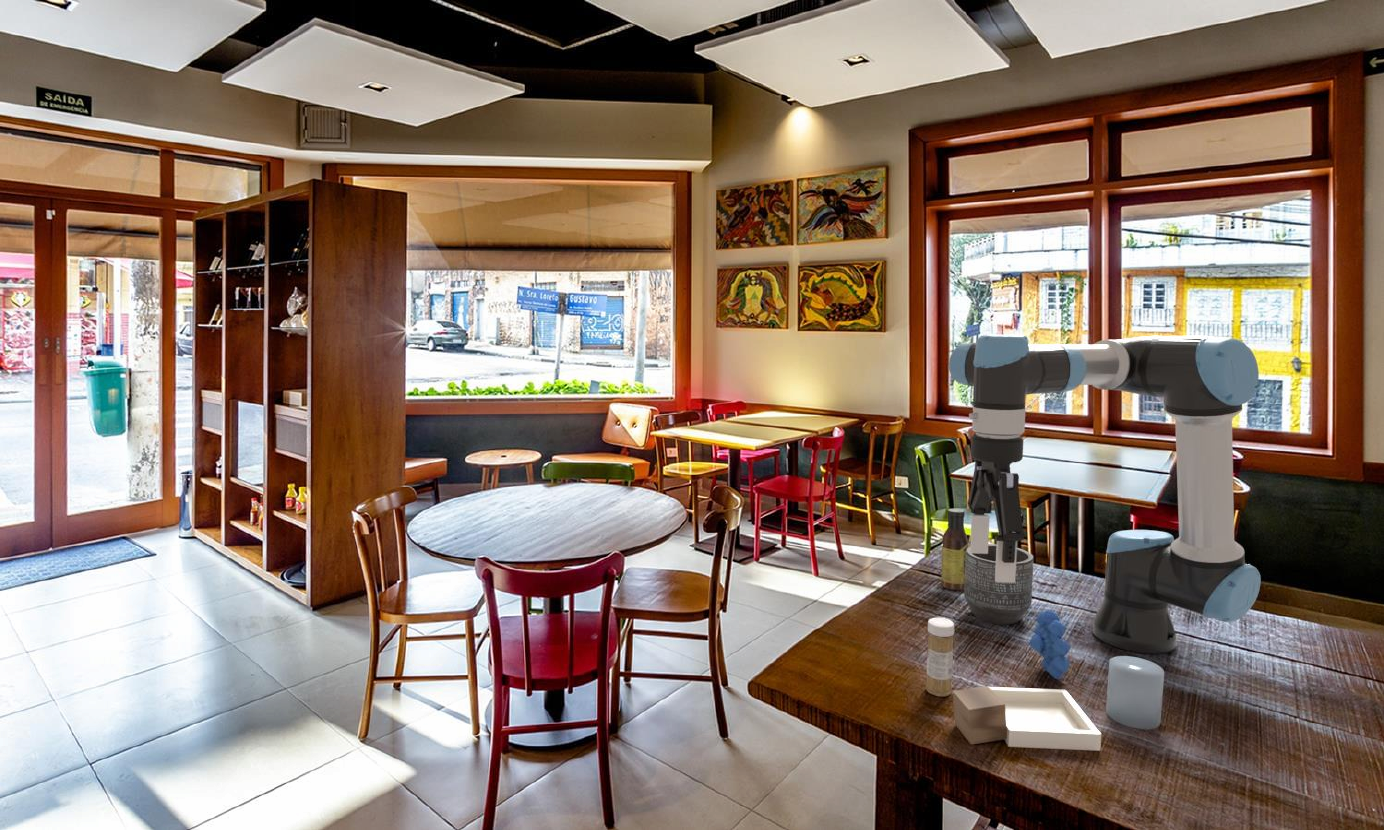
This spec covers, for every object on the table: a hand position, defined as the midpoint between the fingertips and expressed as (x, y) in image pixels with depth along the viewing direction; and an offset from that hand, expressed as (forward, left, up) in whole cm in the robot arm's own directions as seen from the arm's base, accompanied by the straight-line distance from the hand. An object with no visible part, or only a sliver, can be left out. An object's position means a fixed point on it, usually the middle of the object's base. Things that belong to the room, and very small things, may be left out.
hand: (991, 566), depth 118 cm
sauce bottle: (-12, -68, -29) cm, 75 cm away
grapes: (-18, -23, -29) cm, 41 cm away
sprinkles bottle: (+4, -14, -29) cm, 32 cm away
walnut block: (0, 0, -28) cm, 28 cm away
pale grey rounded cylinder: (-27, -9, -29) cm, 41 cm away
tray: (-10, -4, -29) cm, 31 cm away
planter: (-17, -50, -29) cm, 60 cm away
